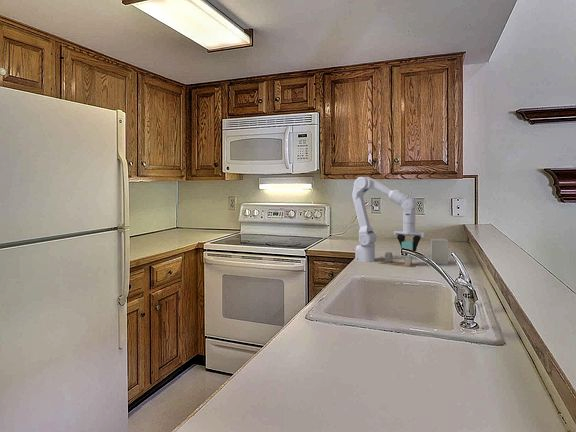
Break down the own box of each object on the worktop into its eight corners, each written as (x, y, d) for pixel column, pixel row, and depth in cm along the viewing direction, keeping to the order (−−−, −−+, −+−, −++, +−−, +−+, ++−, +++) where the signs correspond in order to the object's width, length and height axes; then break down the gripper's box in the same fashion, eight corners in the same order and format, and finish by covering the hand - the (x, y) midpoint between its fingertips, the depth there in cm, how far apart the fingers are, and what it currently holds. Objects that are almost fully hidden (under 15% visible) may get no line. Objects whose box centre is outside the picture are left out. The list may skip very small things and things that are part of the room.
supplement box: (448, 266, 191) (448, 240, 190) (432, 266, 193) (432, 240, 192) (445, 263, 199) (446, 238, 198) (430, 262, 200) (430, 238, 199)
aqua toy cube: (401, 255, 190) (401, 241, 190) (405, 253, 195) (405, 240, 194) (412, 256, 187) (412, 242, 187) (415, 254, 192) (415, 241, 191)
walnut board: (377, 265, 196) (377, 263, 196) (384, 262, 203) (384, 260, 203) (413, 269, 186) (413, 267, 186) (419, 266, 193) (419, 264, 193)
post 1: (385, 262, 197) (385, 252, 197) (387, 261, 199) (387, 252, 199) (390, 263, 195) (390, 253, 195) (392, 262, 198) (392, 252, 197)
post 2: (404, 265, 191) (405, 254, 191) (406, 264, 193) (406, 254, 193) (410, 265, 190) (410, 255, 189) (412, 264, 192) (412, 254, 191)
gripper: (391, 222, 191) (391, 250, 192) (421, 224, 182) (421, 253, 183) (396, 221, 196) (396, 248, 198) (426, 223, 188) (425, 251, 189)
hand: (408, 250), depth 191 cm, fingers closed on aqua toy cube, 5 cm apart
